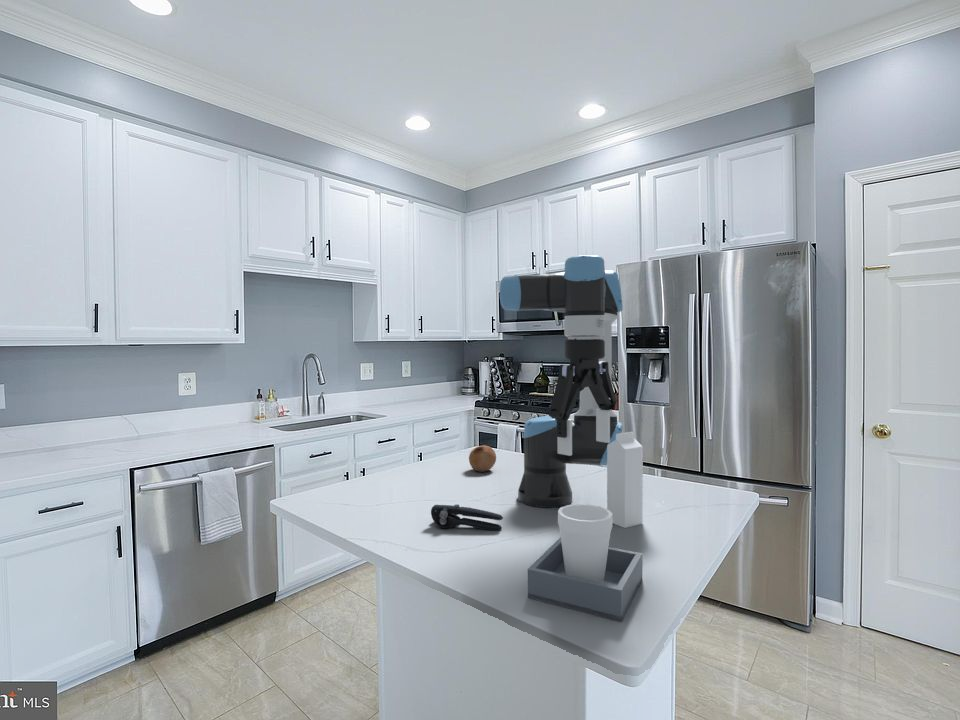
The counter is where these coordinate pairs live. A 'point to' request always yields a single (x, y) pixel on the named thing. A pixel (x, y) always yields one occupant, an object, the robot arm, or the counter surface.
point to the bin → (587, 583)
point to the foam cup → (585, 540)
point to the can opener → (448, 518)
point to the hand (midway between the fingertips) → (584, 447)
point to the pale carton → (625, 480)
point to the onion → (482, 458)
